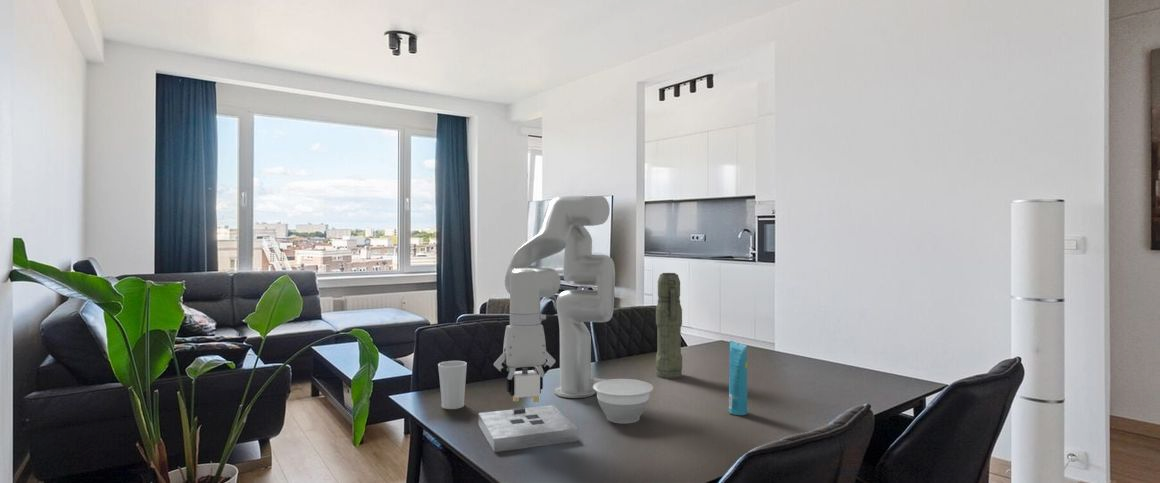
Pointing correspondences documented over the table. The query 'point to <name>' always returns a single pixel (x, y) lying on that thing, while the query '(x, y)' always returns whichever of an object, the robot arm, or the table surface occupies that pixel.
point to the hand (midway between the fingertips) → (524, 392)
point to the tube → (738, 379)
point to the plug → (526, 384)
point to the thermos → (669, 327)
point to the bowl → (623, 399)
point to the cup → (452, 383)
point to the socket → (526, 428)
